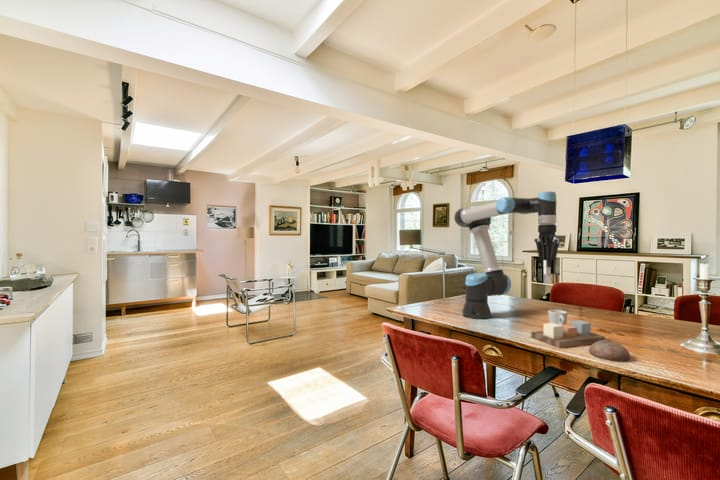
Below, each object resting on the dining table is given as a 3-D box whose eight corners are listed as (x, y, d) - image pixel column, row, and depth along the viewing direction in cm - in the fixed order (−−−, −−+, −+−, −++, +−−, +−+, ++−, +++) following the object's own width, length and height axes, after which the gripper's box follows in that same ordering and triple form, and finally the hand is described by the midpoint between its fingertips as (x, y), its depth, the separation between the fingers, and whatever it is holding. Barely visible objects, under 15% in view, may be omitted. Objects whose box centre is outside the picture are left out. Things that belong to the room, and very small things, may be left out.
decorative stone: (581, 352, 123) (581, 338, 123) (605, 349, 126) (605, 335, 126) (612, 364, 111) (612, 348, 111) (638, 360, 114) (638, 345, 114)
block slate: (570, 332, 140) (570, 321, 140) (579, 331, 142) (579, 320, 142) (581, 335, 136) (581, 324, 136) (590, 334, 137) (590, 323, 137)
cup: (573, 332, 147) (573, 315, 147) (554, 331, 149) (554, 314, 149) (563, 326, 158) (563, 309, 158) (545, 325, 159) (545, 309, 159)
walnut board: (531, 337, 140) (531, 332, 140) (573, 332, 147) (574, 327, 147) (559, 348, 127) (559, 342, 127) (604, 342, 133) (604, 336, 133)
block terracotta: (557, 336, 138) (557, 325, 138) (566, 335, 140) (566, 324, 140) (567, 340, 134) (567, 328, 134) (577, 339, 135) (577, 327, 135)
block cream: (543, 335, 136) (543, 323, 136) (552, 334, 138) (552, 322, 138) (553, 339, 132) (553, 326, 132) (563, 337, 133) (563, 325, 133)
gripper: (529, 224, 157) (529, 272, 158) (552, 223, 145) (552, 275, 145) (542, 224, 159) (542, 272, 160) (565, 223, 147) (565, 275, 147)
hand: (547, 273), depth 152 cm, fingers closed
